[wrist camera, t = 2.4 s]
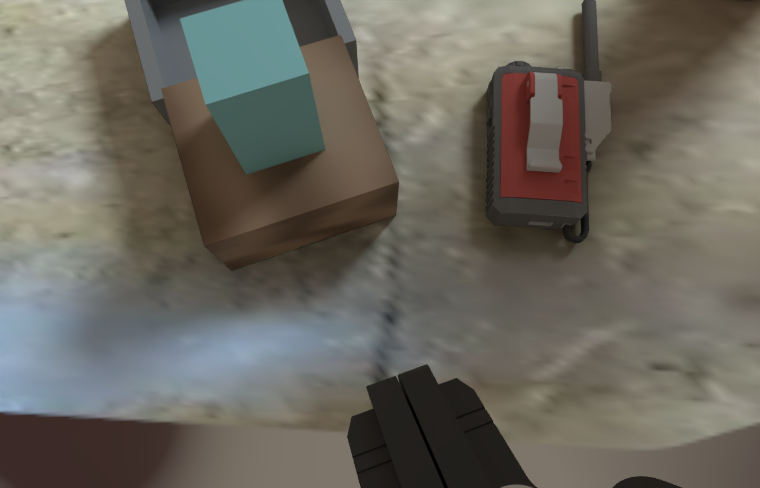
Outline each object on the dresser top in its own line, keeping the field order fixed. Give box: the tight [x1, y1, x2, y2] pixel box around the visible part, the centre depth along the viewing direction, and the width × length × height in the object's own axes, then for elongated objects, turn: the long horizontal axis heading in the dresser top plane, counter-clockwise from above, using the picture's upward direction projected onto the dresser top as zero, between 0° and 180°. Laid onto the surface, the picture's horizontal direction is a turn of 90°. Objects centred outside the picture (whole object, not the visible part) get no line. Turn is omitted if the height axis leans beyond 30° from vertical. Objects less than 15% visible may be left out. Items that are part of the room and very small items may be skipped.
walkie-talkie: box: [486, 0, 612, 243], centre depth 39 cm, size 9×4×20 cm
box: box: [125, 0, 359, 128], centre depth 40 cm, size 14×12×5 cm
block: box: [180, 0, 325, 175], centre depth 30 cm, size 5×5×8 cm
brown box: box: [161, 35, 399, 270], centre depth 37 cm, size 12×11×6 cm
